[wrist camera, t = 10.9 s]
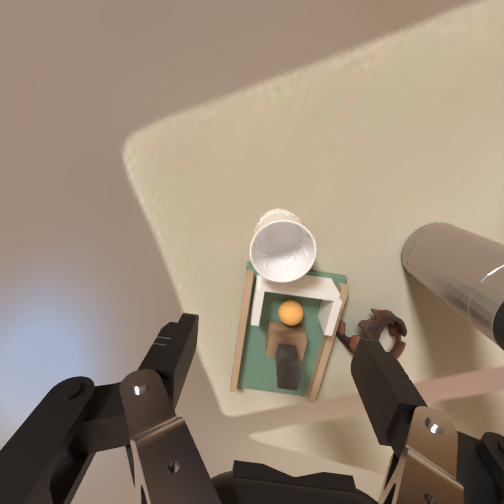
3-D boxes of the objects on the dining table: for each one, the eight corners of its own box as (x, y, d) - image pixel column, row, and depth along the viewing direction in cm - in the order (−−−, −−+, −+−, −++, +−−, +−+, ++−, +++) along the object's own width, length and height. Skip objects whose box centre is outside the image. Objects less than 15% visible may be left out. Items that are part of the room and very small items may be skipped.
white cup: (290, 260, 42) (299, 291, 32) (245, 243, 41) (240, 269, 31) (312, 215, 39) (328, 235, 29) (264, 196, 38) (264, 209, 29)
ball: (303, 330, 40) (299, 322, 44) (307, 305, 39) (302, 299, 43) (278, 327, 39) (275, 319, 43) (281, 301, 39) (278, 296, 43)
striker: (303, 325, 44) (314, 371, 35) (299, 344, 46) (308, 392, 36) (268, 320, 44) (270, 365, 35) (265, 339, 46) (265, 387, 36)
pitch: (345, 275, 42) (357, 294, 36) (310, 392, 51) (316, 421, 46) (247, 261, 42) (245, 278, 36) (230, 381, 51) (226, 409, 45)
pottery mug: (330, 303, 45) (370, 318, 37) (370, 295, 48) (413, 307, 41) (331, 369, 46) (370, 396, 38) (370, 356, 50) (412, 378, 42)
